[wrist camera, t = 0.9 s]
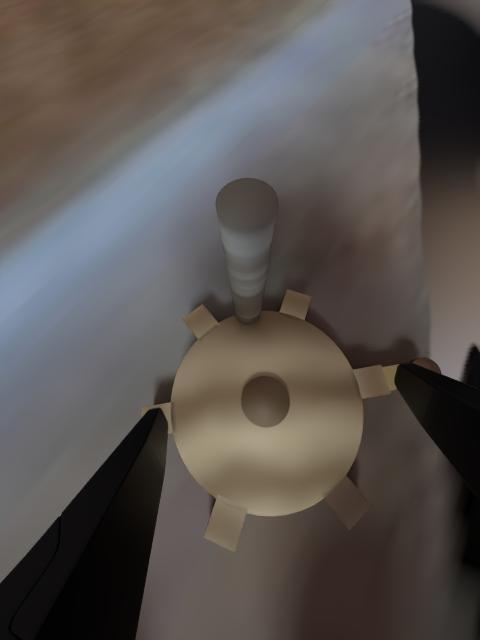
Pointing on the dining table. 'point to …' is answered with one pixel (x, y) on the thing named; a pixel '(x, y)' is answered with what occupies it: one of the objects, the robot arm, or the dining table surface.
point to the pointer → (424, 362)
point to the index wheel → (266, 391)
